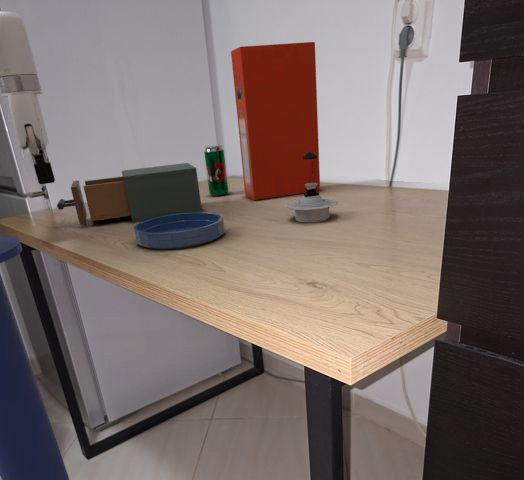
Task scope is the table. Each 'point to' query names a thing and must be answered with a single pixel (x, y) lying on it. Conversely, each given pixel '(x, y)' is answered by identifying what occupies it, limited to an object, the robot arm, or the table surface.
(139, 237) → the bowl
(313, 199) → the oil lamp
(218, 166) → the soda can
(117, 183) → the drawer
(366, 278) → the table surface
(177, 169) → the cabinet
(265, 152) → the file binder
